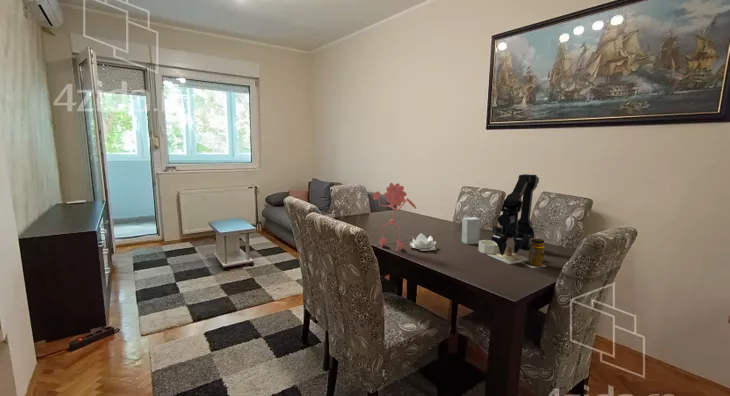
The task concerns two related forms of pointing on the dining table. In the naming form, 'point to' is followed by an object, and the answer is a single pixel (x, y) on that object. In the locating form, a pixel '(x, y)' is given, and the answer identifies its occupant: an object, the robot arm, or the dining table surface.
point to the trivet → (509, 260)
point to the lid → (509, 255)
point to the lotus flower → (423, 243)
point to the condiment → (536, 254)
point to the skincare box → (471, 230)
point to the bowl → (488, 247)
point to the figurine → (393, 197)
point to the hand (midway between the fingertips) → (508, 254)
